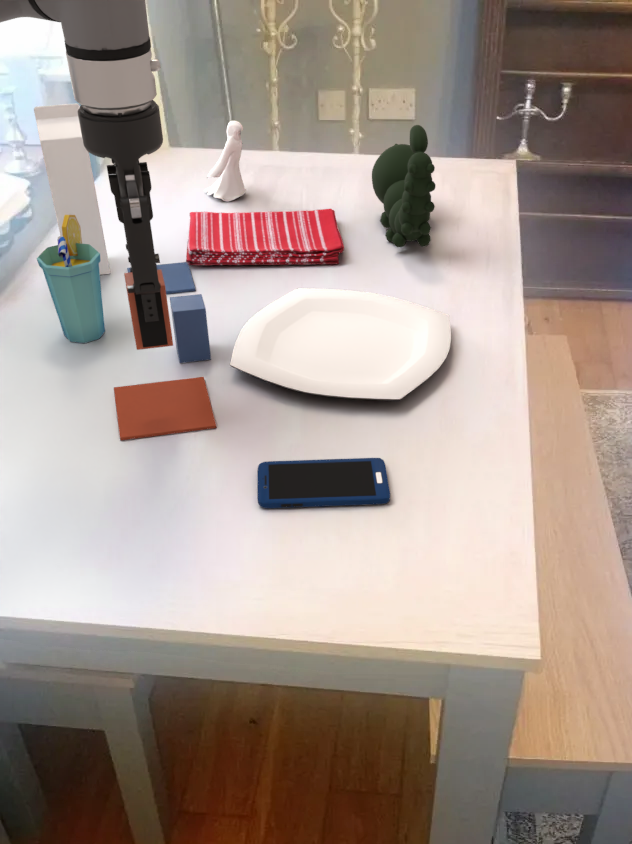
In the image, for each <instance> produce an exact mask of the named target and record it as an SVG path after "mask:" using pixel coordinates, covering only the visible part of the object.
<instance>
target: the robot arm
mask: <svg viewBox="0 0 632 844" xmlns="http://www.w3.org/2000/svg"><path fill="white" fill-rule="evenodd" d="M146 4H147V3H146V0H0V23H3V22H7V21H11V20H15V19H19V18H33V19H38V20H45V21H48V22H49V21H50V22H56V23H60V24H61V29H62V33H63V39H64V47H65V54H66V61H67V66H68V72H69V77H70V82H71V88H72V93H73V98H74V101H75V102H77V104H79V106H80V108H79V109H78V117H79V123H80V128H81V134H82V139H83V144H84V147H85V149H86V150H87V151H88V152H89V154H90V155H92V156H95V157H98V158H102V159H105V158H108V159H111V164H106V171H107V176H108V182H109V189H110V192H111V194H112V195H113V197H114V203H115V208H116V214H117V219H118V221H119V222H120V223H122V224H123V228H124V229H123V230H124V235H125V241H126V244H125V250H126V251H127V253H128V256H127V260H128V263H129V264H130V267H131V268H130V267H129V268H130V272H132V274H133V280H134V283H133V285H131V286H127V289H128V293H134V295H135V302H136V308H137V314H138V320H139V326H140V332H141V338H142V344H143V347H152V346H161V345H168V341H167V334H166V327H165V320H164V313H163V306H162V299H161V292H160V291H161V290H160V288H161V285H160V283H159V280H158V273H157V266H156V265H157V264H161V260H160V254H159V253H156V252H155V246H154V238H153V231H152V224H151V220H153V218H154V212H153V205H152V198H151V191H152V181H151V175H150V174H151V173H150V170H149V169H148V162H147V161H142V162H140V159H141V158H142V157H144V156H146V155H148V156H149V155H151V154H154V153H155V152H157V151H158V150H159V149H161V147H162V145H163V143H164V135H163V127H162V120H161V119H162V118H161V113H160V112H161V111H160V105H159V104H157V102H156V101H155V98H156V97H157V94H158V93H157V84H156V78H155V75H154V72H159V71H160V70H161V69H162V68H161V67H162V66H161V62H160V60H159V59H158V58H153V57H152V56H153V53H152V49H151V48H152V43H151V37H150V29H149V22H148V13H147V5H146ZM152 58H153V59H152ZM127 289H126V290H127Z"/></svg>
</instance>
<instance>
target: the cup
mask: <svg viewBox="0 0 632 844" xmlns="http://www.w3.org/2000/svg"><path fill="white" fill-rule="evenodd" d="M62 234H63V236H60V235H59V236H57V244H56V245H52V246H48V247H46V248H45V249H44V250H43V251H42V252H41V253H40V254H39V255H38V256H37V257H36V261H37V264H38V266H39V268H40V269H41V270H42V272H43V275H44V279H45V281H46V285H47V287H48V290H49V293H50V294H49V295H50V296H51V299H52V302H53V303H52V304H53V306H54V309H55V312H56V315H57V318H58V321H59V323H60V328H61V330H62V333H63V336H64V337H65V338H66V339H67V340H68V341H69V342H71V343H78V344H79V343H80V344H87V343H90V342H93V341H97V340H100V339H101V338H102V336H103V335H104V334H105V332H106V328H105V326H106V325H105V316H104V306H103V296H102V295H103V294H102V286H101V275H100V272H99V262H100V253H99V252H98V251H97V250H95V249H94V248H93V247H92V246H91V245H89V244H82V238H81V229H80V225H79V223H78V221H77V218H76V216H75V215H65V216H64V220H63V224H62Z"/></svg>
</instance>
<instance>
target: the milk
mask: <svg viewBox="0 0 632 844" xmlns="http://www.w3.org/2000/svg"><path fill="white" fill-rule="evenodd" d="M80 106H81V105H80V104H79V103H78V102H77V103H63V104H54V105H53V104H52V105H40V106H34V108H33V113H34V117H35V123H36V128H37V131H38V132H37V133H38V138H39V143H40V147H41V152H42V157H43V160H44V161H43V162H44V166H45V171H46V176H47V180H48V185H49V189H50V190H49V191H50V194H51V199H52V203H53V207H54V212H55V217H56V221H57V227H58V231H59V236H63V234H62V224H63V220H64V216H65V215H75V216H76V218H77V221H78V223H79V225H80V229H81V238H82V244H89V245H91V246H92V247H93V248H94V249H95V250H97V251H98V252H99V253H100V262H99V272H100V276H101V275H108V274H111V268H110V267H111V266H110V262H109V256H108V250H107V246H106V240H105V234H104V228H103V222H102V219H101V211H100V207H99V200H98V195H97V190H96V185H95V184H96V183H95V179H94V173H93V168H92V163H91V156H90V153H89V152H88V151H87V150H86V149H85V147H84V144H83V139H82V134H81V128H80V123H79V117H78V109H79V108H80Z"/></svg>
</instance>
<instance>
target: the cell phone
mask: <svg viewBox="0 0 632 844" xmlns="http://www.w3.org/2000/svg"><path fill="white" fill-rule="evenodd" d="M256 476H257V477H256V478H257V479H256V480H257V484H256V485H257V489H256V490H257V491H256V493H257V497H256V499H257V504H258V505H259V507H260V508H264V509H287V508H289V509H290V508H314V507H318V508H319V507H340V506H343V507H344V506H365V505H366V506H367V505H368V506H369V505H370V506H371V505H384V504H388V503H389V502H390V500H391V491H390V489H391V488H390V484H389V478H388V472H387V467H386V463H385V461H384V459H382V458H381V457H359V458H358V457H357V458H356V457H354V458H329V459H328V458H327V459H298V460H297V459H296V460H294V459H293V460H271V461H262V462H260V463H259V464H258V465H257V475H256Z"/></svg>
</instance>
